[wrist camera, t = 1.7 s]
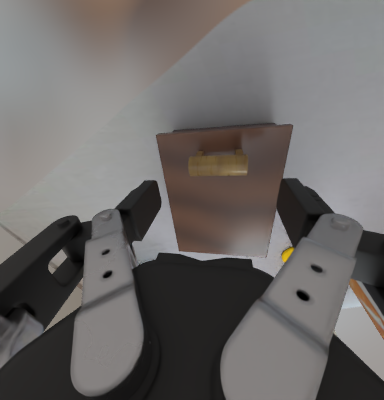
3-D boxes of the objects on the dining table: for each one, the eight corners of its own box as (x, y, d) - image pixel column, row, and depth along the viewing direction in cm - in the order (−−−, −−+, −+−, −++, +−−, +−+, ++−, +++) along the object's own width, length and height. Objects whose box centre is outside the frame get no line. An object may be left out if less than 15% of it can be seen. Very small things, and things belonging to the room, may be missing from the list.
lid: (158, 133, 19) (136, 146, 14) (290, 123, 16) (315, 135, 12) (180, 247, 28) (171, 276, 24) (265, 253, 26) (273, 287, 21)
